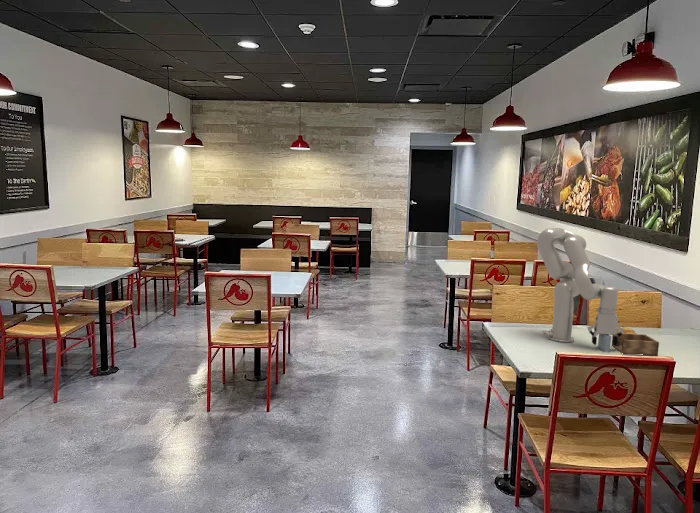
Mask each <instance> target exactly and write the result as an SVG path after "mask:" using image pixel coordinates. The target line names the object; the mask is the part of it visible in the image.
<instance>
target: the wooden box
mask: <svg viewBox="0 0 700 513" xmlns="http://www.w3.org/2000/svg"><path fill="white" fill-rule="evenodd" d="M613 337H614V335H611V347H612V346H613V349H615V350H616V349H617V351H618V352H619V353H621V354H622V353H623V354H622V355H626V354H643V355H641V357H642V356H645V357H646V356H647V357H658V355H659V348H660V347H659V346H660V342H659V341H657V340H655V339H654V338H653V337H651V336H649V335H647V334H639V333H636V334H626V333H622V335H621V336H620V337H619V338H618V342H617V344H616V346H614V345H613V344H612V343H613Z"/></svg>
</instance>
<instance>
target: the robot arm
mask: <svg viewBox="0 0 700 513" xmlns="http://www.w3.org/2000/svg"><path fill="white" fill-rule="evenodd" d="M555 245H560V246H563V249H564V251H565V254H566V256H567V258H568V260H569V261H567V260H562V258H561V256H560V253H559V252H558V250H557V249H556V248H555ZM536 246H537V250H538V252H539V254H540V256H541V258H542V261H543V264H544V265H545V268H546V270H547V273H548V275H549V276H550V278H551V279H553V280H559V282H557V284H555V286H554V289H553V297H554V298H553V299H554V302H553V304H554V305H553V316H552V317H553V318H552V328H550V330H542V335H546V336H548V339H549V340H551V341H554V342H558V341H559V342H558V343H573V342H575V338H574V337H572V332H573V331H572V330H573V322H574V321H573V320H574V319H573V318H574V310H575V306H574V304H575V302H574V298H575V297H578V296H579V295H580V296H581V297H582V298H583V299H584V300H587V301H592V300H595V299H599V306H598V308H597V307H596V310H595V311H596V312H597V313H596V317H595V320H594V324H591V325H590V326H587V330H588V332H589V334H590V335H591V343H592V345H594V346H595V345H597V343H598V341H597V340H598V338H597V336H599V334H607V335H610V336H613V335H614V337H613V343H612V342H611V345H612V344H613V345H614V346H616V344H617V342H618V338H619V337H620V336H621V335H622V333H623V332H624V329H622V328H623V327H620V326H619V316H618V314H617V304H618V297H619V296H618V294H619V290H618V288H617V287H616V286H612V285H611V286H610V285H603V284H599V283H592V281H591V279H590V276H589V269H590V265H591V262H590V260H589V258H588V256H587V253H586V251H585V249H586V248H587V242H586V239H585V238H584V237H582V236H581V235H579V234H577V233H574V232H572V231H569V230H567V229H565V228H561V227H552V228H551V227H550V228H545V229H544V230H542V231H541V232H540V233H539V235H538V237H537V239H536ZM618 329H619V330H620V331H619V332H618ZM593 330H594V331H593Z"/></svg>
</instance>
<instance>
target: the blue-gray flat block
mask: <svg viewBox="0 0 700 513" xmlns="http://www.w3.org/2000/svg"><path fill="white" fill-rule="evenodd" d="M597 340H598V341H597V347H598V348H599V349H601V350H602V351H603V352H604V353H610V352H611V346H612V335H607V334H598V338H597Z"/></svg>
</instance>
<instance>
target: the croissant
mask: <svg viewBox="0 0 700 513" xmlns="http://www.w3.org/2000/svg"><path fill="white" fill-rule="evenodd" d="M621 328H622V329H624V332H623V333H626V334H637V333H636V332H635V330H634V329H632V328H630V327H628V326H623V327H621ZM619 331H620V330H619V329H618V332H619Z"/></svg>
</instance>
